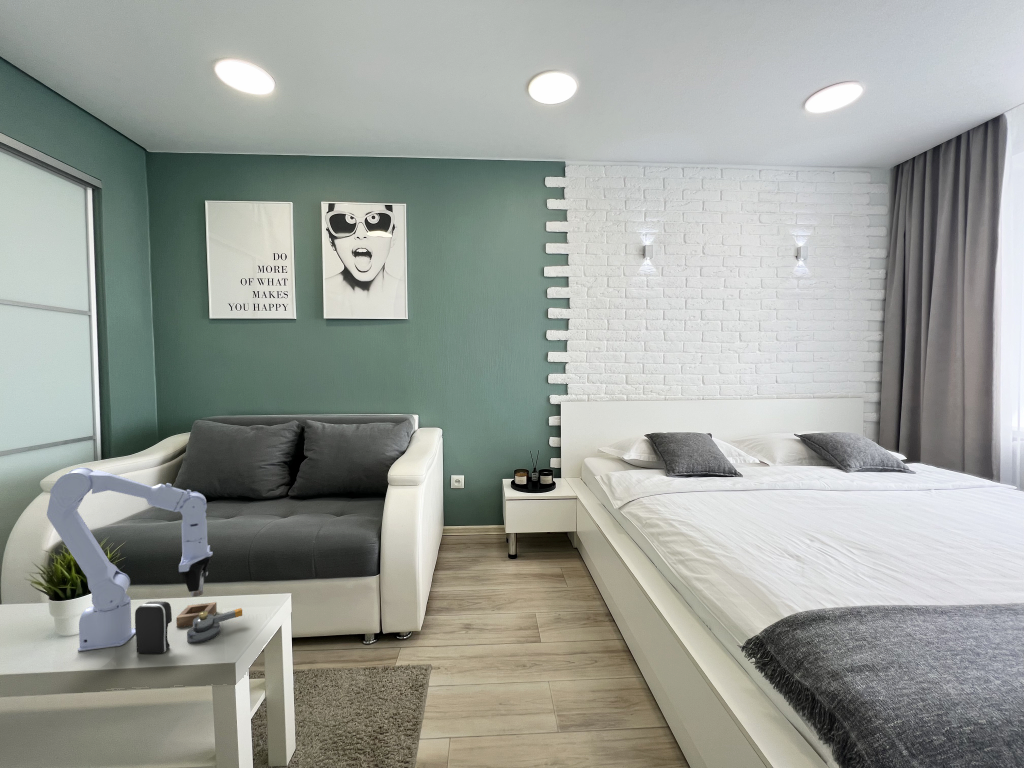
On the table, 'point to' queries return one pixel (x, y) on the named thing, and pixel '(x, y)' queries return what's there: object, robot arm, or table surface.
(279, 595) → the table surface
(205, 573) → the key
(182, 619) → the holder
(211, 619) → the collar
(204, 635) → the base
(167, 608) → the battery charger
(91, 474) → the robot arm
